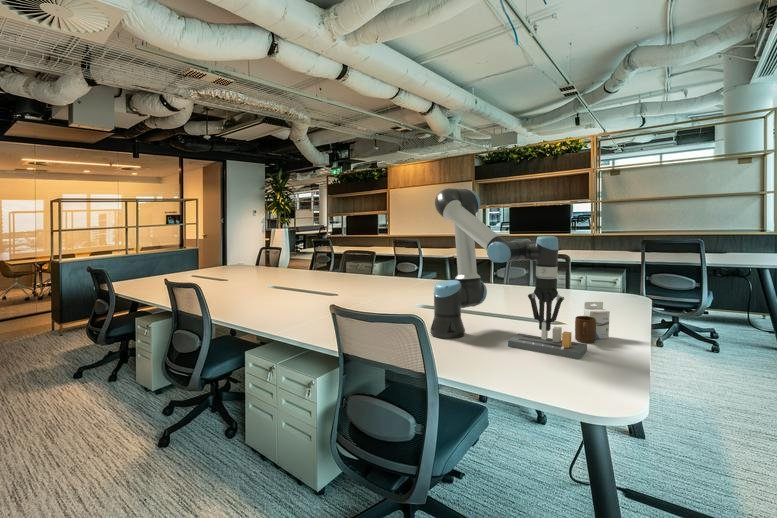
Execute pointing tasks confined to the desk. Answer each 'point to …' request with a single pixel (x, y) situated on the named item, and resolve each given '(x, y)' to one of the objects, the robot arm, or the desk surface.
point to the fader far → (557, 334)
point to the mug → (585, 329)
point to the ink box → (598, 318)
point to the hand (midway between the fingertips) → (544, 338)
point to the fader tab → (566, 339)
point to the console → (547, 346)
